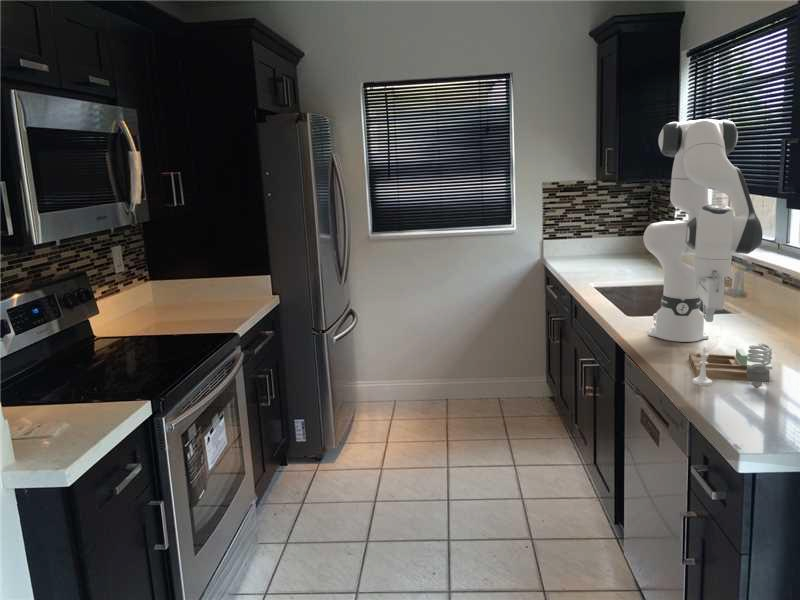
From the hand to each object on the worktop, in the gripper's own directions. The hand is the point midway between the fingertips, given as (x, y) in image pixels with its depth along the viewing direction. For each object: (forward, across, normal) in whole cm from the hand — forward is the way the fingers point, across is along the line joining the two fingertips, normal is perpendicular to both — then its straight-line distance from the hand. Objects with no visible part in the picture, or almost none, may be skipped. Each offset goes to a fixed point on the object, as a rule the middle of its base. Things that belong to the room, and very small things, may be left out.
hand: (707, 320), depth 176 cm
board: (+17, +12, -8) cm, 23 cm away
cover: (+15, +12, -14) cm, 24 cm away
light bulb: (+18, -1, -13) cm, 22 cm away
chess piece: (+18, 0, 0) cm, 18 cm away
